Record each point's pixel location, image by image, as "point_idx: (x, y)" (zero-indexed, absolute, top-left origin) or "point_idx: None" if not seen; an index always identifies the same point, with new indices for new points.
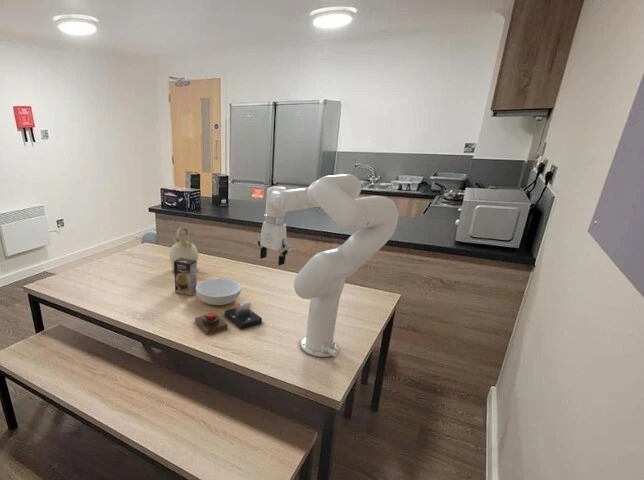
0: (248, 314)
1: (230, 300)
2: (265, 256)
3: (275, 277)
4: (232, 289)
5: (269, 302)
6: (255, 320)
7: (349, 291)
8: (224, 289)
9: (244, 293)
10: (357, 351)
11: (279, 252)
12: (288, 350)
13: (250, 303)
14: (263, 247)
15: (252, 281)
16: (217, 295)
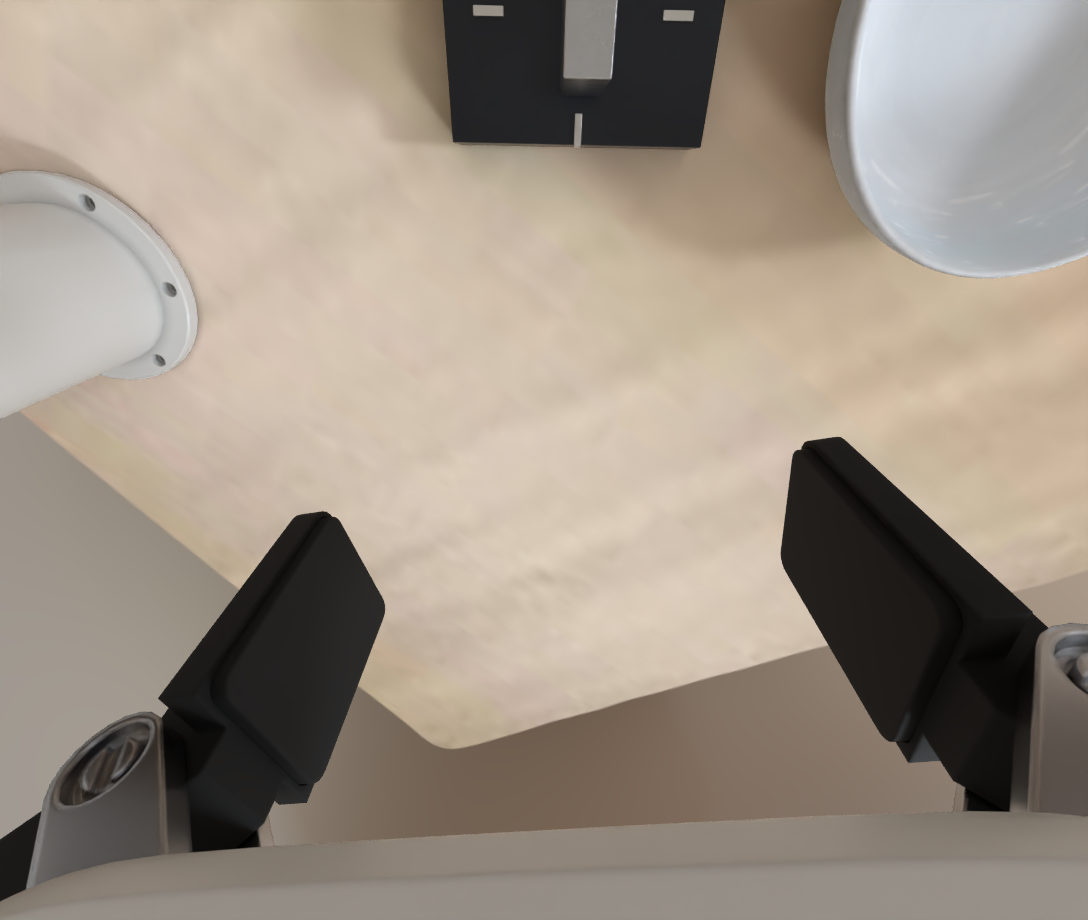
0: (557, 70)
1: (834, 29)
2: (790, 553)
3: None
4: (975, 231)
5: (667, 384)
6: (447, 63)
7: (537, 693)
8: (1048, 182)
9: (877, 324)
10: (54, 422)
11: (135, 820)
12: (67, 72)
13: (563, 77)
14: (1001, 740)
15: (942, 466)
16: (1046, 62)
